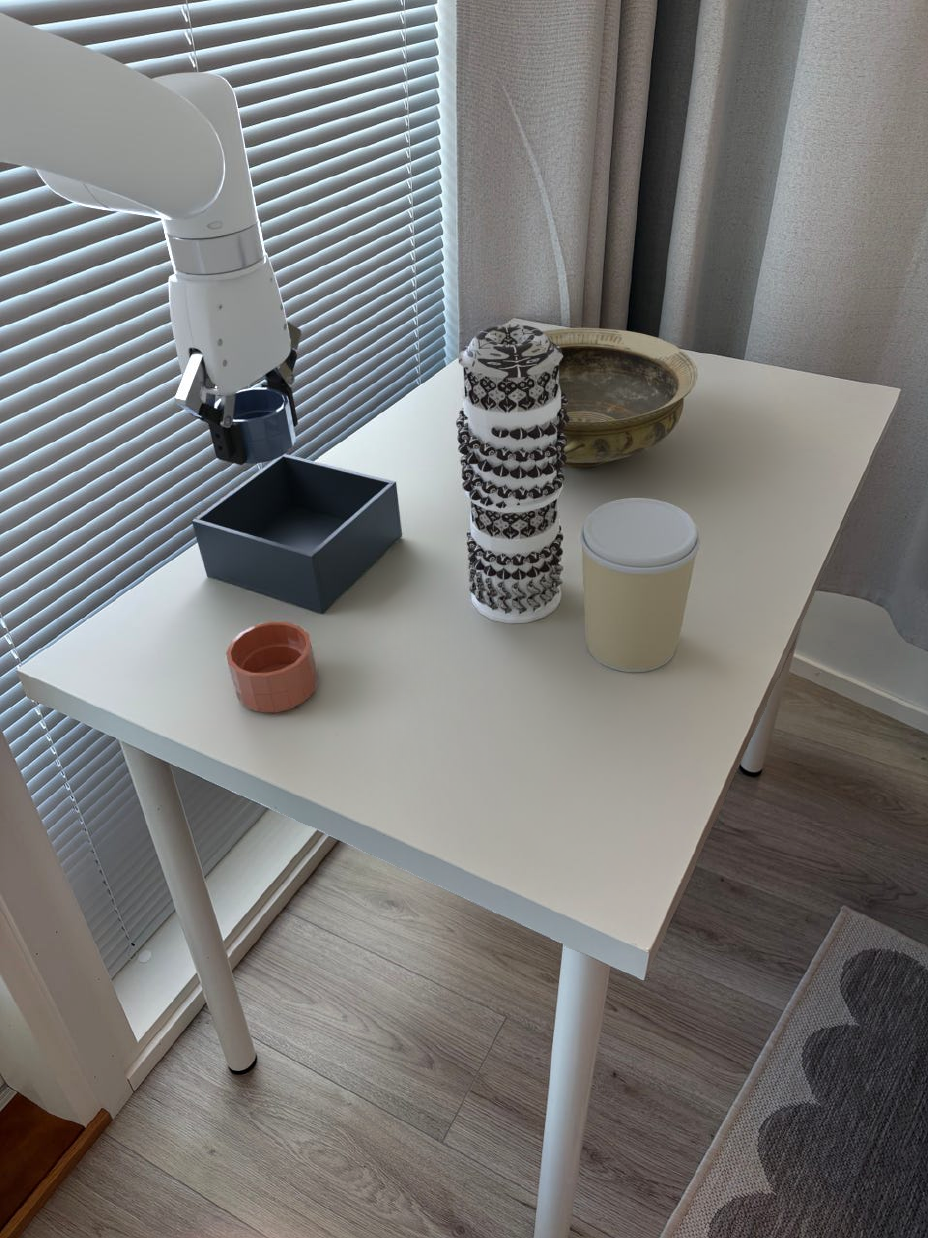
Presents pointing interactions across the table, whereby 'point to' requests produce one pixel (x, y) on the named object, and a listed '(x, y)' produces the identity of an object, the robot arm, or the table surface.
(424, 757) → the table surface
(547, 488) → the decorative candle
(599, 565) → the coffee cup
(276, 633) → the terracotta flower pot
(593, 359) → the ceramic bowl
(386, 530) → the tub
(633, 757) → the table surface
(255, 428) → the faceted blue pot
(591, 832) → the table surface
